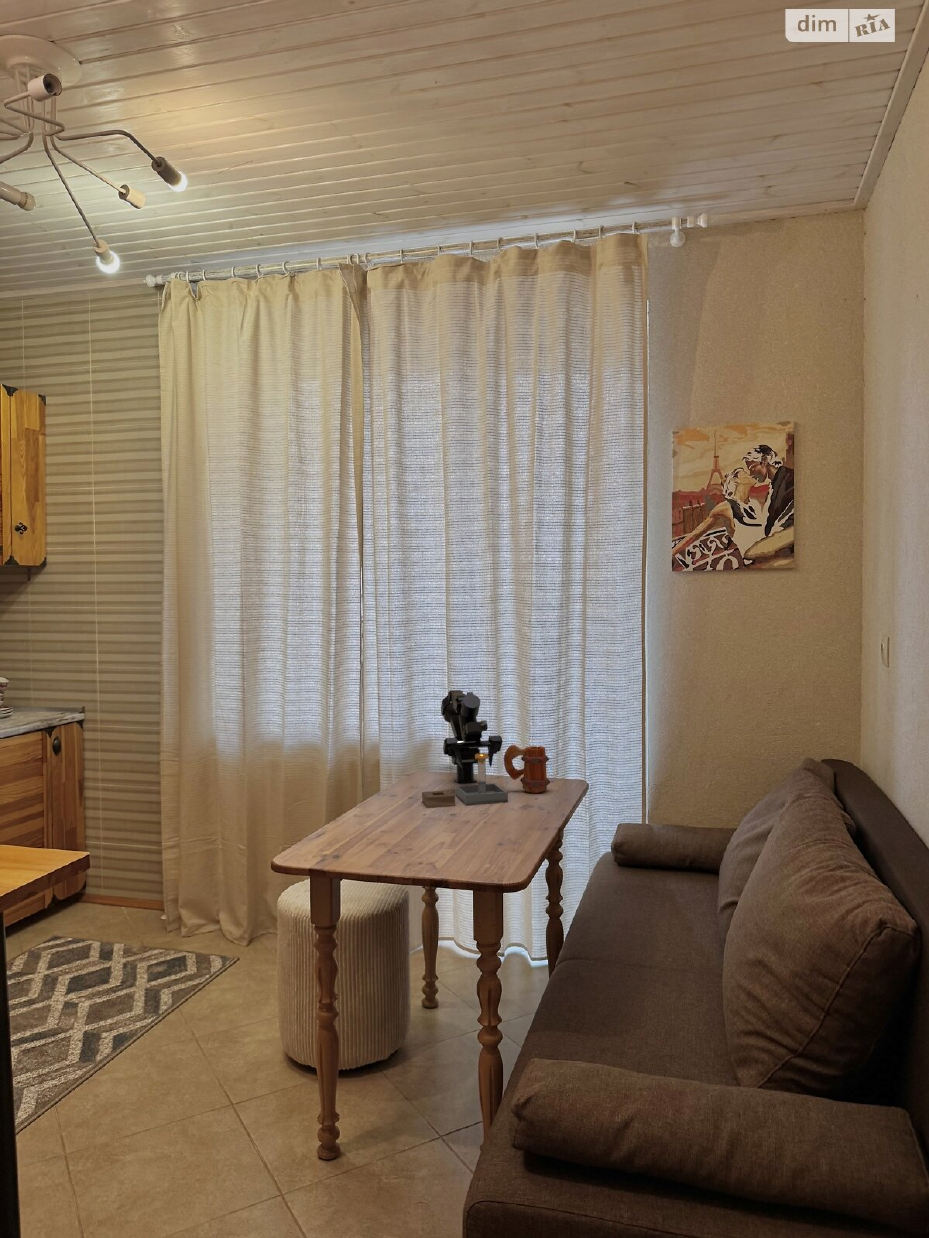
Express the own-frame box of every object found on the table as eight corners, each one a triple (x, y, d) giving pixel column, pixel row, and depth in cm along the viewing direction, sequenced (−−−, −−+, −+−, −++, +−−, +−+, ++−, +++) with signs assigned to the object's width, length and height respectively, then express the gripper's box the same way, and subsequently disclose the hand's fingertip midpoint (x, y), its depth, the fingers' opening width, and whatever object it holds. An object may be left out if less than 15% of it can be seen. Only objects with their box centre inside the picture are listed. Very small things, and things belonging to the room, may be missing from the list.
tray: (455, 795, 287) (455, 786, 287) (495, 792, 290) (495, 783, 290) (466, 805, 274) (466, 795, 273) (507, 802, 277) (507, 792, 277)
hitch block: (422, 801, 280) (422, 791, 280) (448, 799, 282) (448, 789, 282) (427, 807, 272) (427, 797, 272) (455, 805, 274) (454, 795, 273)
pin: (473, 796, 281) (472, 754, 281) (483, 794, 284) (482, 752, 283) (481, 798, 278) (480, 755, 278) (491, 796, 281) (490, 754, 280)
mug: (550, 788, 294) (549, 742, 294) (550, 794, 286) (549, 746, 285) (505, 788, 295) (504, 742, 295) (503, 794, 287) (502, 747, 287)
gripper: (443, 713, 291) (450, 753, 281) (500, 710, 295) (509, 750, 284) (440, 733, 299) (446, 773, 289) (495, 731, 303) (504, 770, 292)
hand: (476, 766), depth 288 cm, fingers open, 9 cm apart
